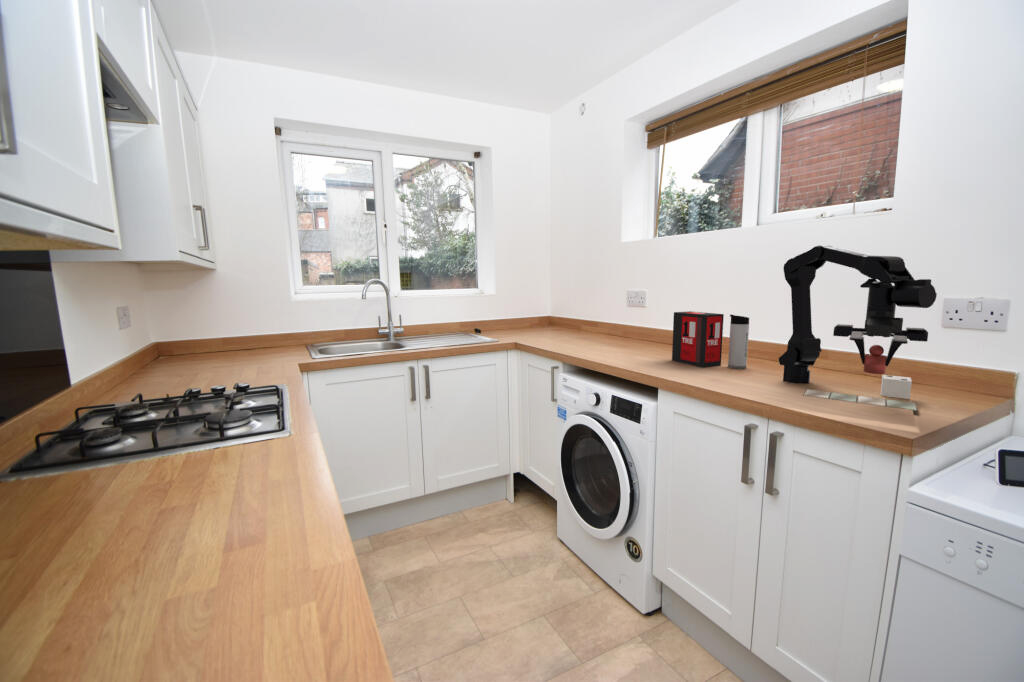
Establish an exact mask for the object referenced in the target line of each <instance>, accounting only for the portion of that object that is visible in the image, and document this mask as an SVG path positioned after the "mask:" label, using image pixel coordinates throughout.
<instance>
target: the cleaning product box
mask: <svg viewBox="0 0 1024 682" xmlns="http://www.w3.org/2000/svg"><path fill="white" fill-rule="evenodd" d="M724 315H725V314H723V313H713V312H702V311H701V312H700V311H674V312H673V323H672V324H673V326H672V327H673V328H672V349H671V351H672V352H671V361H672V362H677V363H680V364H685V365H689V366H694V367H697V368H702V369H706V368H713V367H714V368H715V367H721V366H722V352H723V351H722V350H723V336H724V335H723V334H724V319H725V318H724V317H725V316H724Z"/></svg>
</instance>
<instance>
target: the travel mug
mask: <svg viewBox="0 0 1024 682" xmlns="http://www.w3.org/2000/svg"><path fill="white" fill-rule="evenodd" d="M729 317H730V325H729V341H728V342H729V344H728V361H727V367H728V368H730V369H734V370H745V369H747V364H748V363H747V361H748V351H749V350H748V348H749V347H748V345H749V333H750V331H749V330H750V317H747V316H744V315H735V314H729Z"/></svg>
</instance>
